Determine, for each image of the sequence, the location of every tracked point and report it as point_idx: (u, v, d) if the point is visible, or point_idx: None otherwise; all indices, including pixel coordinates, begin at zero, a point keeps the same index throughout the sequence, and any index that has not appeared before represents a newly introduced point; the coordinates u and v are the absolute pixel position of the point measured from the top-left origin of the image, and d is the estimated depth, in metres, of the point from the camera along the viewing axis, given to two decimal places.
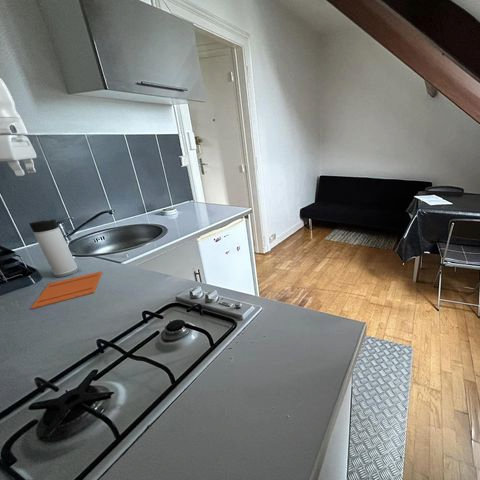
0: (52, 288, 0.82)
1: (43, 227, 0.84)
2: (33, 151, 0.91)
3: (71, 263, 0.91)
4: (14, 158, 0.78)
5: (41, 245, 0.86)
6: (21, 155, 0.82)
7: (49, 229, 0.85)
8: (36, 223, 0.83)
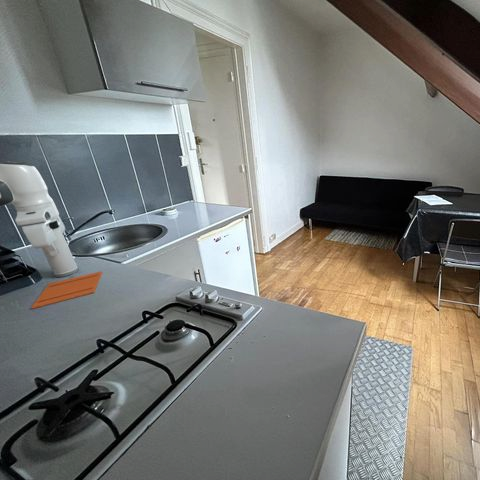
0: (52, 288, 0.82)
1: None
2: (62, 225, 0.94)
3: (71, 263, 0.92)
4: (49, 244, 0.81)
5: None
6: (54, 236, 0.86)
7: None
8: None
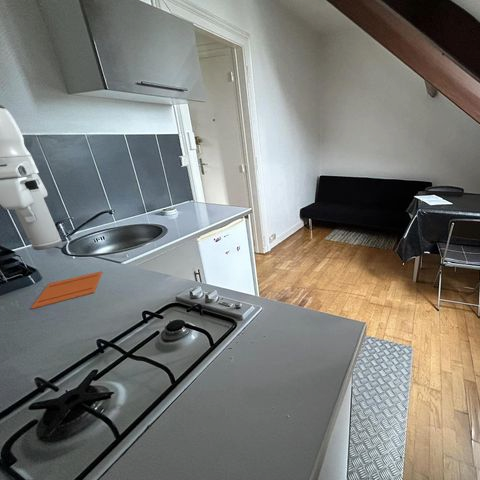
0: (52, 288, 0.82)
1: None
2: (44, 189, 0.79)
3: (54, 233, 0.76)
4: (23, 205, 0.66)
5: (16, 209, 0.70)
6: (31, 198, 0.70)
7: None
8: None
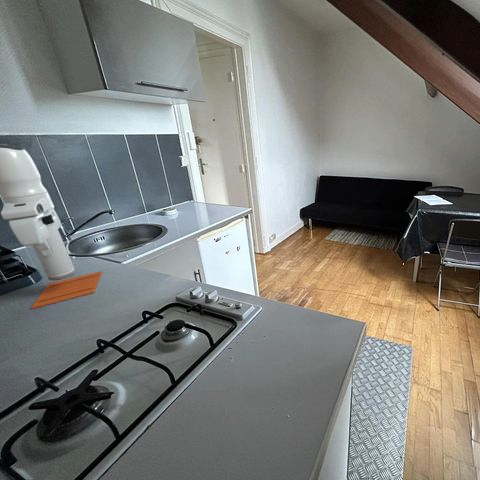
0: (52, 288, 0.82)
1: None
2: (58, 220, 0.82)
3: (68, 264, 0.79)
4: (41, 242, 0.69)
5: None
6: (47, 233, 0.73)
7: None
8: None
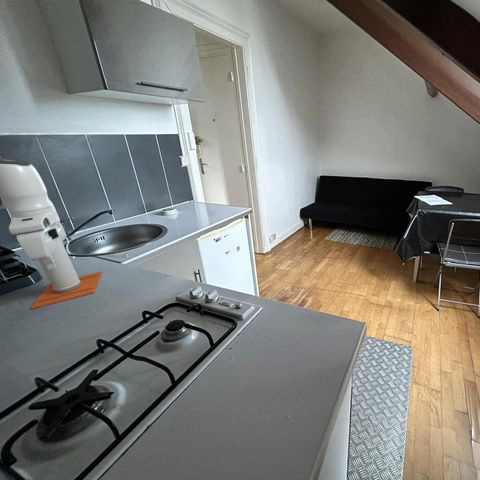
0: (52, 288, 0.82)
1: None
2: (63, 232, 0.84)
3: (73, 276, 0.81)
4: (47, 255, 0.70)
5: None
6: (53, 246, 0.75)
7: None
8: None
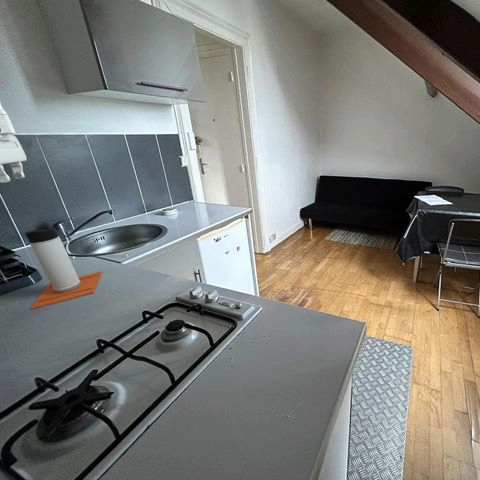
0: (52, 288, 0.82)
1: (41, 237, 0.73)
2: (22, 153, 0.79)
3: (73, 276, 0.81)
4: None
5: (39, 257, 0.75)
6: (6, 158, 0.70)
7: (47, 239, 0.74)
8: (33, 233, 0.72)
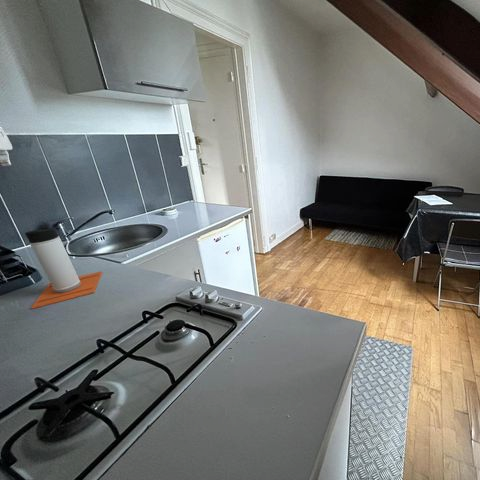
0: (52, 288, 0.82)
1: (41, 237, 0.73)
2: (8, 142, 0.85)
3: (73, 276, 0.81)
4: None
5: (39, 257, 0.75)
6: None
7: (47, 239, 0.74)
8: (33, 233, 0.72)
